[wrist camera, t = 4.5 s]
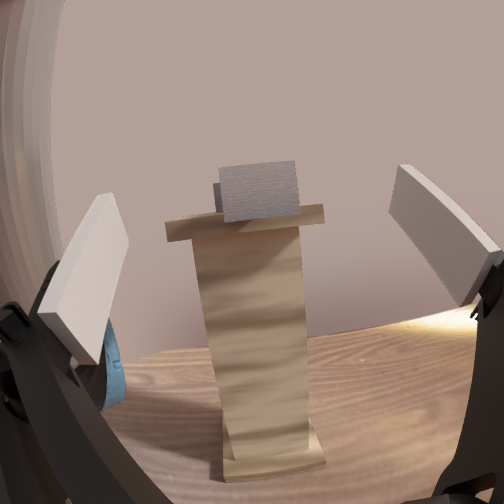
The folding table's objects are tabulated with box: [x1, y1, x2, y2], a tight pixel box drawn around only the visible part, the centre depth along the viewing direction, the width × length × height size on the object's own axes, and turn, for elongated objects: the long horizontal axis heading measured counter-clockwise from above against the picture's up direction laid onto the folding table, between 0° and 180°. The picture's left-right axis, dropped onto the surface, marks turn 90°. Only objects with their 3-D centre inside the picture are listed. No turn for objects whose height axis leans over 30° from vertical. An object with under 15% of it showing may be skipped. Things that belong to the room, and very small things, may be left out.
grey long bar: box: [213, 161, 301, 223], centre depth 22 cm, size 24×5×3 cm, turn 5°
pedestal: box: [165, 204, 326, 483], centre depth 31 cm, size 14×12×30 cm
